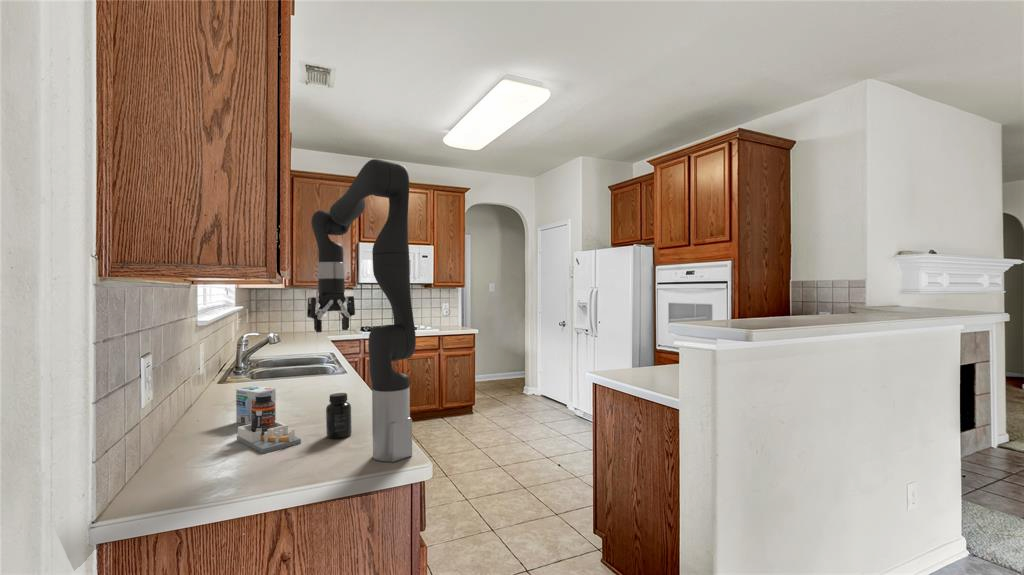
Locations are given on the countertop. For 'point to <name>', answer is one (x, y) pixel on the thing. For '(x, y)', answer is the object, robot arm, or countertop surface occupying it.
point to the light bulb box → (250, 402)
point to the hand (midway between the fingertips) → (332, 331)
